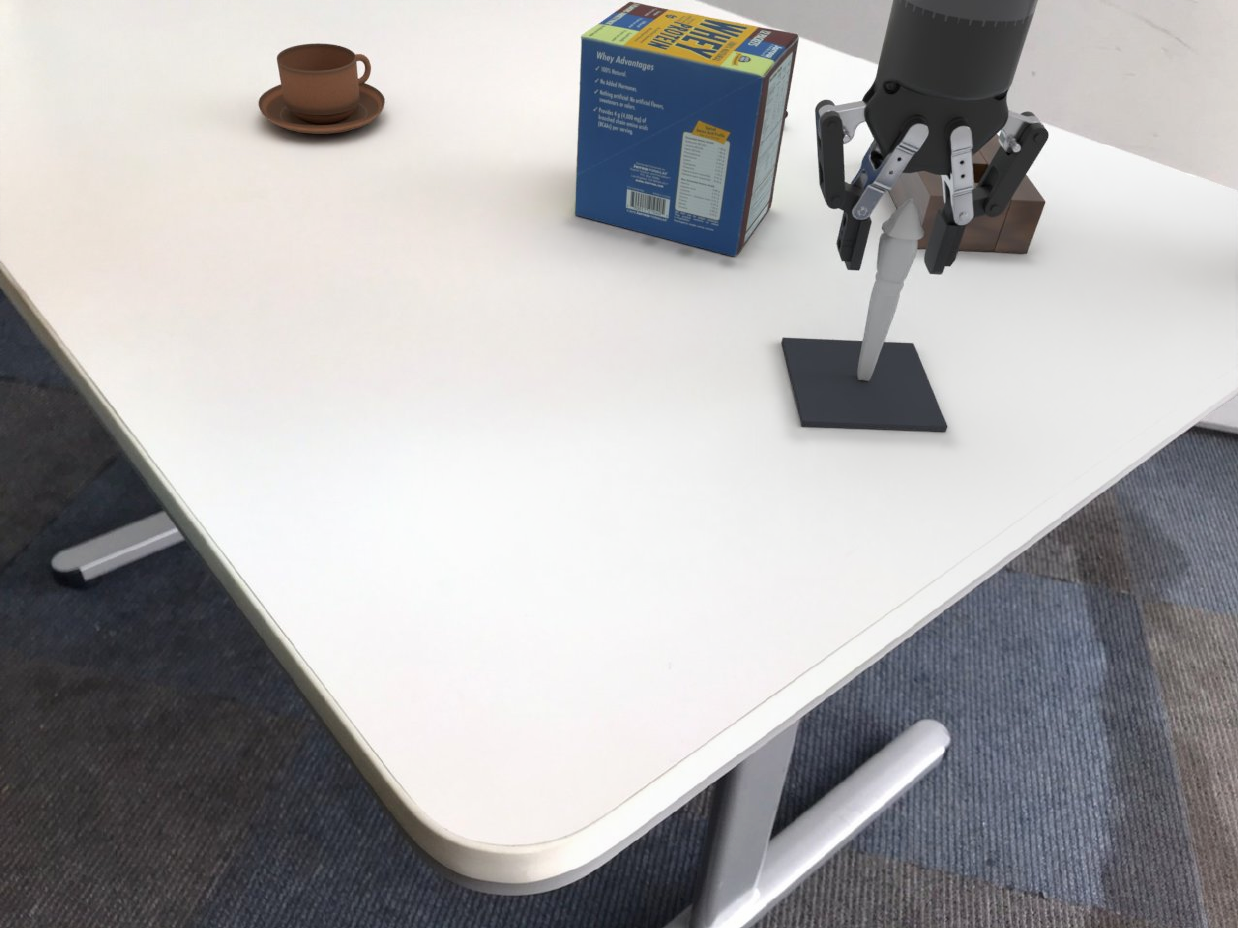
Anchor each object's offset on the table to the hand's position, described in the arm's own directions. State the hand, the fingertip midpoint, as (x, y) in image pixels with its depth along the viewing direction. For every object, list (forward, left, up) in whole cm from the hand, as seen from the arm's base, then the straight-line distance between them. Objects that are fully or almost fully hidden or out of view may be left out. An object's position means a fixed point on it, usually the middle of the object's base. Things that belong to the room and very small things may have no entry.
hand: (892, 265), depth 67 cm
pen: (0, 0, -9) cm, 9 cm away
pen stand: (-14, -29, -10) cm, 34 cm away
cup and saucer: (+46, -41, -10) cm, 62 cm away
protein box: (+12, -25, -10) cm, 29 cm away
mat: (0, 0, -10) cm, 10 cm away
